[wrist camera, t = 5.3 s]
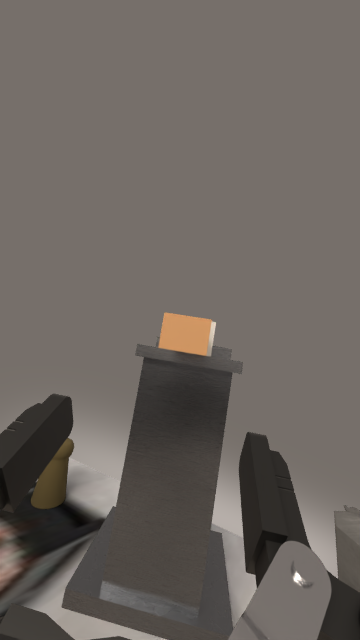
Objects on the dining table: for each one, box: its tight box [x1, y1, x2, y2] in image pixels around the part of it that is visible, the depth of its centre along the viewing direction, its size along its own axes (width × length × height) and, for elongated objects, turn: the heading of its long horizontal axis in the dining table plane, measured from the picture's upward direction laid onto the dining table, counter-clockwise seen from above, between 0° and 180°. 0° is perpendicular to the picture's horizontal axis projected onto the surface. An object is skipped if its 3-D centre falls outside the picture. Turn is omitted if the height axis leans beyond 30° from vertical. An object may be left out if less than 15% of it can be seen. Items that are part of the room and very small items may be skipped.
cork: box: [31, 438, 74, 509], centre depth 48 cm, size 6×6×11 cm
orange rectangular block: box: [158, 313, 216, 357], centre depth 32 cm, size 6×24×5 cm, turn 175°
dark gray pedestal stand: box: [62, 337, 243, 640], centre depth 38 cm, size 20×16×34 cm
